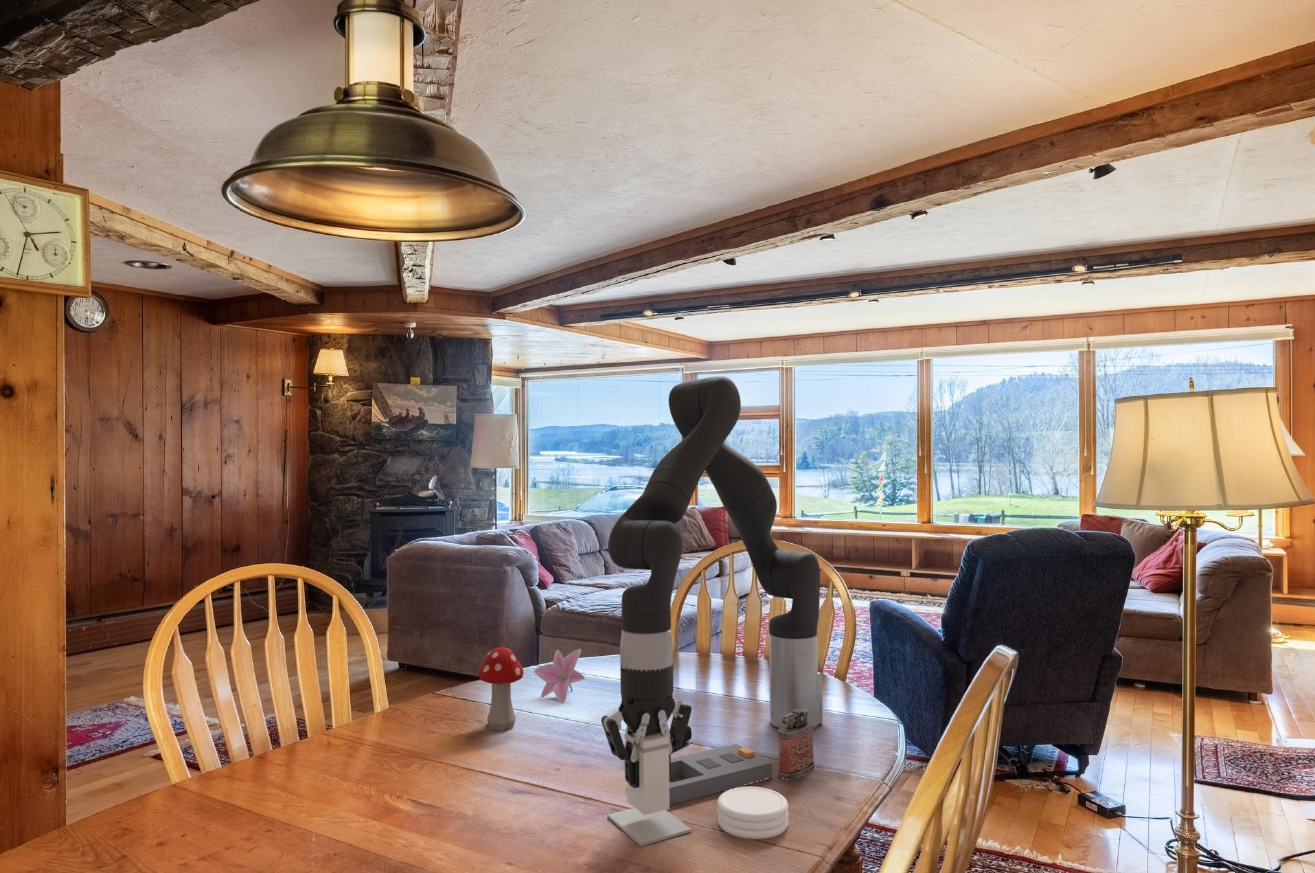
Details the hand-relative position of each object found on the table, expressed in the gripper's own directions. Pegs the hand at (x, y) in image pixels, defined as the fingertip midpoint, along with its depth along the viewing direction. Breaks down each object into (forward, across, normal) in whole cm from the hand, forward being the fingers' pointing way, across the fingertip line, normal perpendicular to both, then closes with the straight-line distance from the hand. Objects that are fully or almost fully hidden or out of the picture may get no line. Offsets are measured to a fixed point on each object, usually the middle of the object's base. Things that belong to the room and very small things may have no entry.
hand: (648, 781), depth 115 cm
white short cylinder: (+6, -13, +7) cm, 16 cm away
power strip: (+6, -15, -9) cm, 18 cm away
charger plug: (+3, 0, 0) cm, 3 cm away
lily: (+6, -13, -64) cm, 66 cm away
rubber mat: (+6, 0, 0) cm, 6 cm away
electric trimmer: (+6, -15, -24) cm, 29 cm away
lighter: (+6, -30, -4) cm, 31 cm away
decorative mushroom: (+6, +4, -52) cm, 53 cm away
